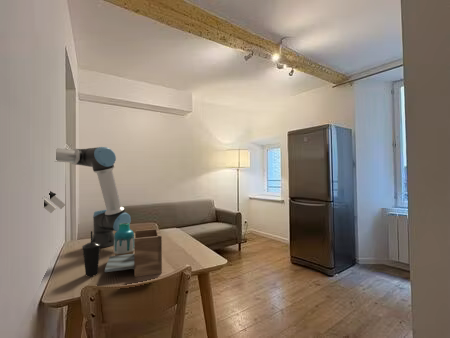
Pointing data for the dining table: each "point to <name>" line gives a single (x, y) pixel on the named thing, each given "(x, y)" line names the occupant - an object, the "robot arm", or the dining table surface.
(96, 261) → the drinking cup
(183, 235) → the dining table surface
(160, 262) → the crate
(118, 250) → the vase
